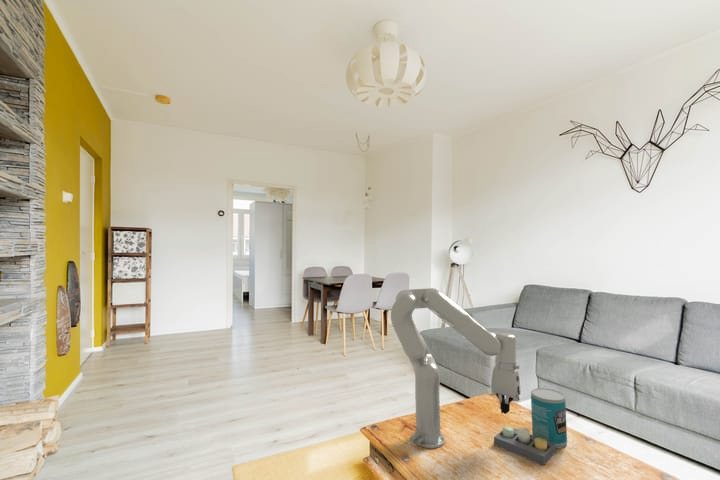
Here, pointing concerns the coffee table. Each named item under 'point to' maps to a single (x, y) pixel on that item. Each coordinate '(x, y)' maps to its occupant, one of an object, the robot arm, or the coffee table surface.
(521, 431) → the key ivory
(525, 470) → the coffee table surface
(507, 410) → the robot arm
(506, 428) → the pale green egg
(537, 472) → the coffee table surface
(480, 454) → the coffee table surface
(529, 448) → the gray compartment tray
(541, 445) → the key mustard
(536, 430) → the food can
